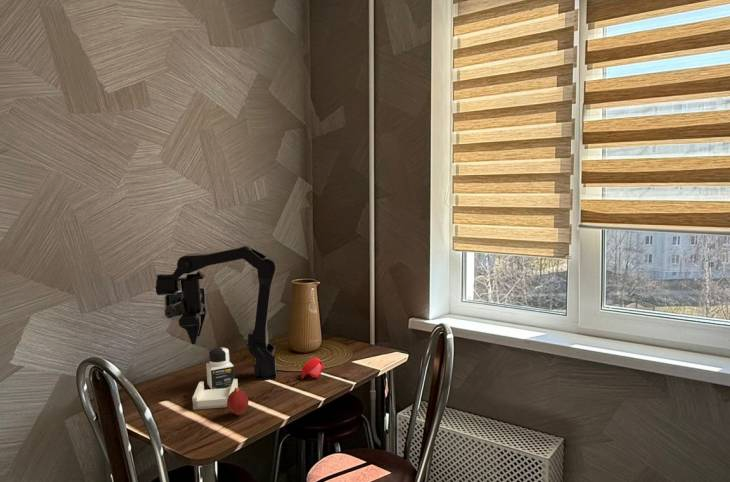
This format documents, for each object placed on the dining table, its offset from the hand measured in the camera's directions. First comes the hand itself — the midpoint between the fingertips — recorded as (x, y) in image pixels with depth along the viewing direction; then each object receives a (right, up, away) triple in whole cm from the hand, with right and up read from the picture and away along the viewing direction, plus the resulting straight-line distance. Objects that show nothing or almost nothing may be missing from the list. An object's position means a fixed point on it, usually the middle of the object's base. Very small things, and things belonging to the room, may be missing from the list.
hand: (195, 340), depth 187 cm
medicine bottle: (+9, -14, -5) cm, 17 cm away
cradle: (+11, -15, -16) cm, 24 cm away
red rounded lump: (+20, -16, -28) cm, 38 cm away
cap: (+38, -12, +1) cm, 40 cm away
